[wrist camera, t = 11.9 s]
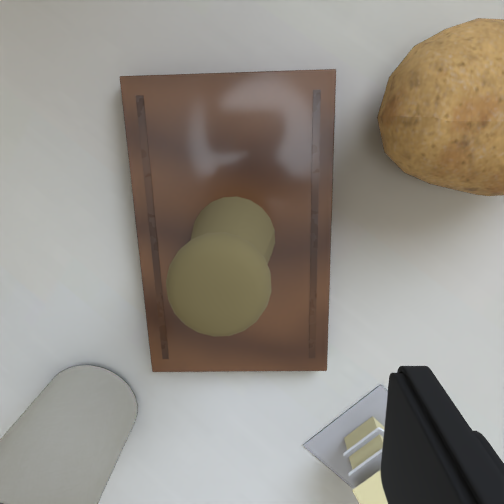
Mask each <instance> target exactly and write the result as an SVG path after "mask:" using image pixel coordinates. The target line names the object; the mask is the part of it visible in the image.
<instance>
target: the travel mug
mask: <svg viewBox="0 0 504 504" xmlns="http://www.w3.org/2000/svg"><path fill="white" fill-rule="evenodd" d="M136 417H137V402H136V399H135V396H134V394H133V392H132V390H131V389H130V387H129V386H128V385H127V383H126V382H125V381H124V380H123V379H121V378H120V377H119V376H118V375H116V374H114V373H113V372H111V371H109V370H107V369H104V368H101V367H97V366H90V365H80V366H74V367H71V368H68V369H66V370H64V371H62V372H60V373H59V374H58V375H56V376H55V377H54V379H53V380H52V381H51V382H50V383H49V384H48V385H47V387H46V388H45V389H44V390H43V391H42V392H41V393H40V395H39V396H38V397H37V398H36V399H35V400H34V402H33V403H32V404H31V405H30V406H29V407H28V408H27V410H26V411H25V412H24V413H23V414H22V415H21V416H20V418H19V419H18V420H17V421H16V422H15V423H14V424H13V426H12V427H11V428H10V429H9V430H8V431H7V433H6V434H5V435H4V436H3V437H2V438H1V439H0V504H98V502H99V500H100V498H101V496H102V493H103V491H104V489H105V487H106V485H107V482H108V480H109V478H110V476H111V474H112V471H113V469H114V467H115V465H116V463H117V460H118V458H119V456H120V454H121V452H122V449H123V447H124V445H125V443H126V441H127V438H128V436H129V434H130V432H131V429H132V427H133V425H134V423H135V420H136Z"/></svg>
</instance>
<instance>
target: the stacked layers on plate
mask: <svg viewBox="0 0 504 504" xmlns="http://www.w3.org/2000/svg"><path fill="white" fill-rule="evenodd" d="M387 396H388V391H387V390H386V389H385V388H384V387H383V386H382V385H380V386H378V387H377V388H376V389H375V390H373V391H372V392H371V393H369V394H368V395H367V396H366V397H364V398H363V399H362V400H361V401H359V402H358V403H357V404H355V405H354V406H353V407H352V408H350V409H349V410H348V411H346V412H345V413H344V414H343V415H341V416H340V417H339V418H337V419H336V420H335V421H334V422H332V423H331V424H330V425H328V426H327V427H326V428H325V429H323V430H322V431H321V432H319V433H318V434H317V435H316V436H314V437H313V438H312V439H310V440H309V441H308V442H307V443H305V444H304V445H303V446H304V447H305V448H306V449H308V450H309V451H310V452H311V453H312V454H313V455H315V456H316V457H317V458H318V459H319V460H320V461H322V462H323V463H324V464H325V465H326V466H327V467H328V468H330V469H331V470H332V471H333V472H334V473H335V474H337V475H338V476H339V477H340V478H341V479H342V480H344V481H345V482H346V483H347V484H348V485H349V486H350V487H352V488H353V493H354V495H355V496H356V498H357V500H358V502H359V503H360V504H388V502H387V499H386V496H385V493H384V490H383V486H382V482H381V472H380V470H381V458H382V448H383V437H384V427H385V417H386V406H387Z"/></svg>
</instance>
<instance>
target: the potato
mask: <svg viewBox="0 0 504 504" xmlns="http://www.w3.org/2000/svg"><path fill="white" fill-rule="evenodd" d="M377 118H378V123H379V128H380V133H381V138H382V143H383V148H384V152H385V153H386V154H387V155H388V156H389V157H390V158H391V159H392V160H393V161H394V162H395V163H396V164H397V166H398V167H399V168H400V169H401V170H402V171H403V172H404V173H407V174H409V175H411V176H414V177H416V178H418V179H420V180H423V181H425V182H427V183H430V184H434V185H438V186H442V187H446V188H451V189H455V190H459V191H463V192H468V193H472V194H476V195H484V196H497V195H504V20H502V19H481V18H478V19H475V20H472V21H469V22H466V23H463V24H460V25H457V26H454V27H451V28H448V29H445V30H443V31H441V32H439V33H438V34H436V35H434V36H432V37H430V38H428V39H427V40H425V41H423V42H421V43H419V44H417V45H416V46H414V47H413V48H412V50H411V51H410V52H409V53H408V55H407V56H406V57H405V58H404V60H403V61H402V62H401V63H400V65H399V66H398V67H397V68H396V69H395V71H394V72H393V73H392V74H391V76H390V77H389V80H388V83H387V87H386V90H385V93H384V97H383V100H382V103H381V107H380V110H379V113H378V117H377Z"/></svg>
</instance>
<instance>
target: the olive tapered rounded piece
mask: <svg viewBox="0 0 504 504" xmlns="http://www.w3.org/2000/svg"><path fill="white" fill-rule="evenodd" d="M274 245H275V229H274V227H273V224H272V222H271V219H270V217H269V216H268V215H267V213H266V212H265V211H264V210H263V208H262V207H260V206H259V205H257V204H256V203H254V202H253V201H251V200H248V199H245V198H241V197H223V198H221V199H218V200H215V201H213V202H211V203H210V204H208V205H207V206H206V207H205V208H204V209H202V210H201V212H200V213H199V215H198V217H197V218H196V220H195V222H194V226H193V231H192V235H191V240H190V241H189V242H188V243H187V244H185V245H184V246H183V247H182V248H181V249H180V250H179V251H178V252H177V254H176V255H175V257H174V259H173V260H172V262H171V264H170V265H169V269H168V274H167V279H166V288H167V296H168V301H169V303H170V305H171V307H172V309H173V311H174V313H175V315H176V316H177V317H178V318H179V319H180V320H181V321H182V322H183V323H184V324H185V325H186V326H188V327H190V328H191V329H193V330H195V331H196V332H198V333H202V334H206V335H210V336H214V337H216V336H231V335H234V334H237V333H240V332H243V331H245V330H246V329H247V328H249V327H250V326H251V325H253V324H254V323H256V322H257V320H258V319H259V317H260V316H261V315H262V313H263V312H264V310H265V309H266V307H267V305H268V302H269V299H270V295H271V292H272V291H271V273H270V270H269V267H268V265H267V264H268V262H269V260H270V257H271V255H272V252H273V248H274Z"/></svg>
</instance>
